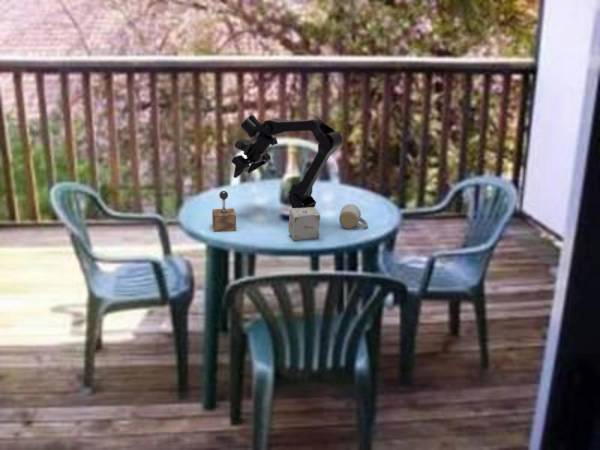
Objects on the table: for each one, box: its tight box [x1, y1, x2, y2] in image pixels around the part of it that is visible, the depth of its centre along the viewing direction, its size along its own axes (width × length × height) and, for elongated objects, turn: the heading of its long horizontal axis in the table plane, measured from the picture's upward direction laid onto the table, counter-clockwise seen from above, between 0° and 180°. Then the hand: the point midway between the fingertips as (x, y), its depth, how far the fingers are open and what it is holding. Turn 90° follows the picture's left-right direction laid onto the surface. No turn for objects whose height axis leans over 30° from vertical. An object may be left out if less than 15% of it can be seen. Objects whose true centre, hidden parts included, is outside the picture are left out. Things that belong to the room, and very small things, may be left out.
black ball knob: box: [218, 190, 229, 213], centre depth 275 cm, size 6×6×9 cm
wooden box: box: [211, 208, 237, 232], centre depth 277 cm, size 8×8×6 cm
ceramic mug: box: [338, 203, 368, 230], centre depth 281 cm, size 11×8×8 cm
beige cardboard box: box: [288, 206, 321, 242], centre depth 268 cm, size 10×8×10 cm
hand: (241, 174), depth 293 cm, fingers open, 9 cm apart
